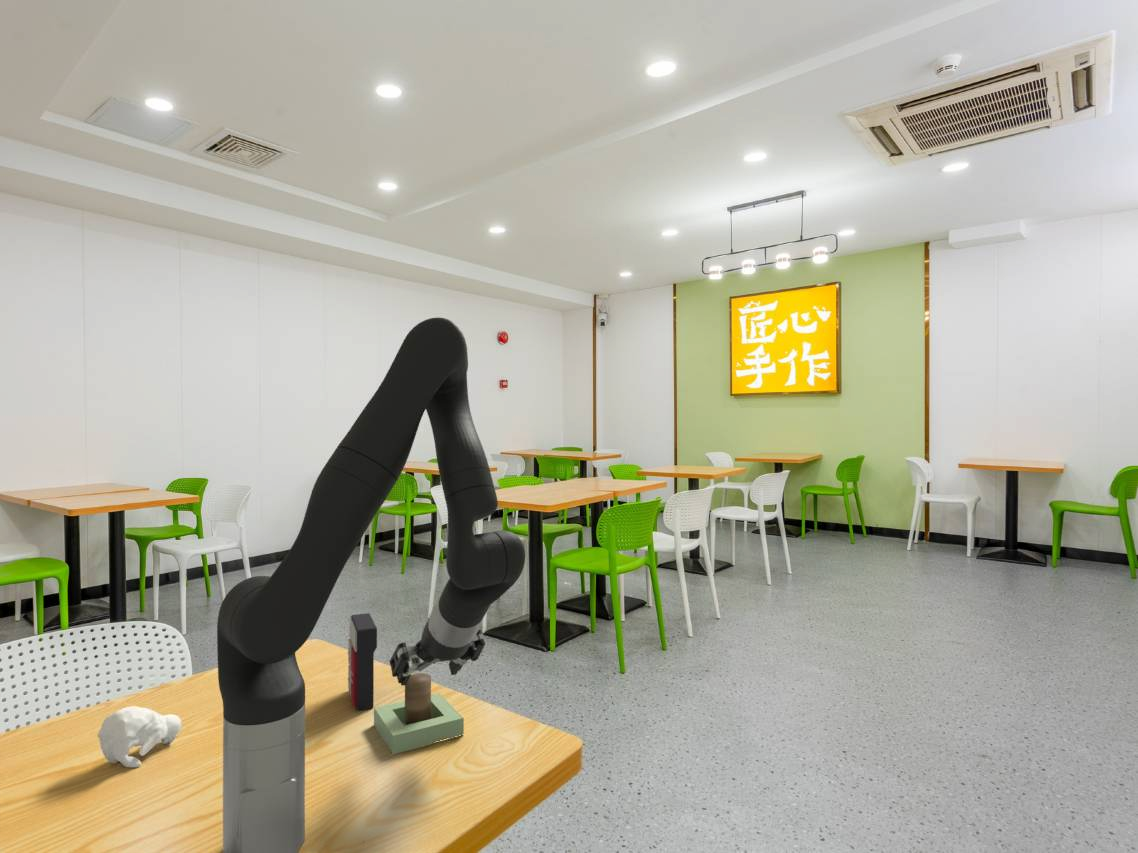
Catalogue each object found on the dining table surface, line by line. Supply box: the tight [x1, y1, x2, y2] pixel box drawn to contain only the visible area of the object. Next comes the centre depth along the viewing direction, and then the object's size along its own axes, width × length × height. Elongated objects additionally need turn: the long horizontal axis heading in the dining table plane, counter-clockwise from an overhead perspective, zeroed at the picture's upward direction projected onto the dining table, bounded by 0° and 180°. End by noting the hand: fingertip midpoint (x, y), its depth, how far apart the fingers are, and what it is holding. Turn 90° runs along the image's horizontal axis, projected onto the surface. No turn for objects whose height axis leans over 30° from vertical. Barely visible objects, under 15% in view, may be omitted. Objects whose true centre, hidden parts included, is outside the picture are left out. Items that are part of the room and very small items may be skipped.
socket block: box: [373, 692, 465, 755], centre depth 109 cm, size 12×12×3 cm
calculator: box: [347, 612, 378, 711], centre depth 122 cm, size 11×4×15 cm, turn 25°
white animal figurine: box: [97, 705, 182, 768], centre depth 101 cm, size 6×8×12 cm
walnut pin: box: [404, 672, 432, 726], centre depth 109 cm, size 4×4×9 cm
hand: (427, 674), depth 104 cm, fingers open, 8 cm apart
